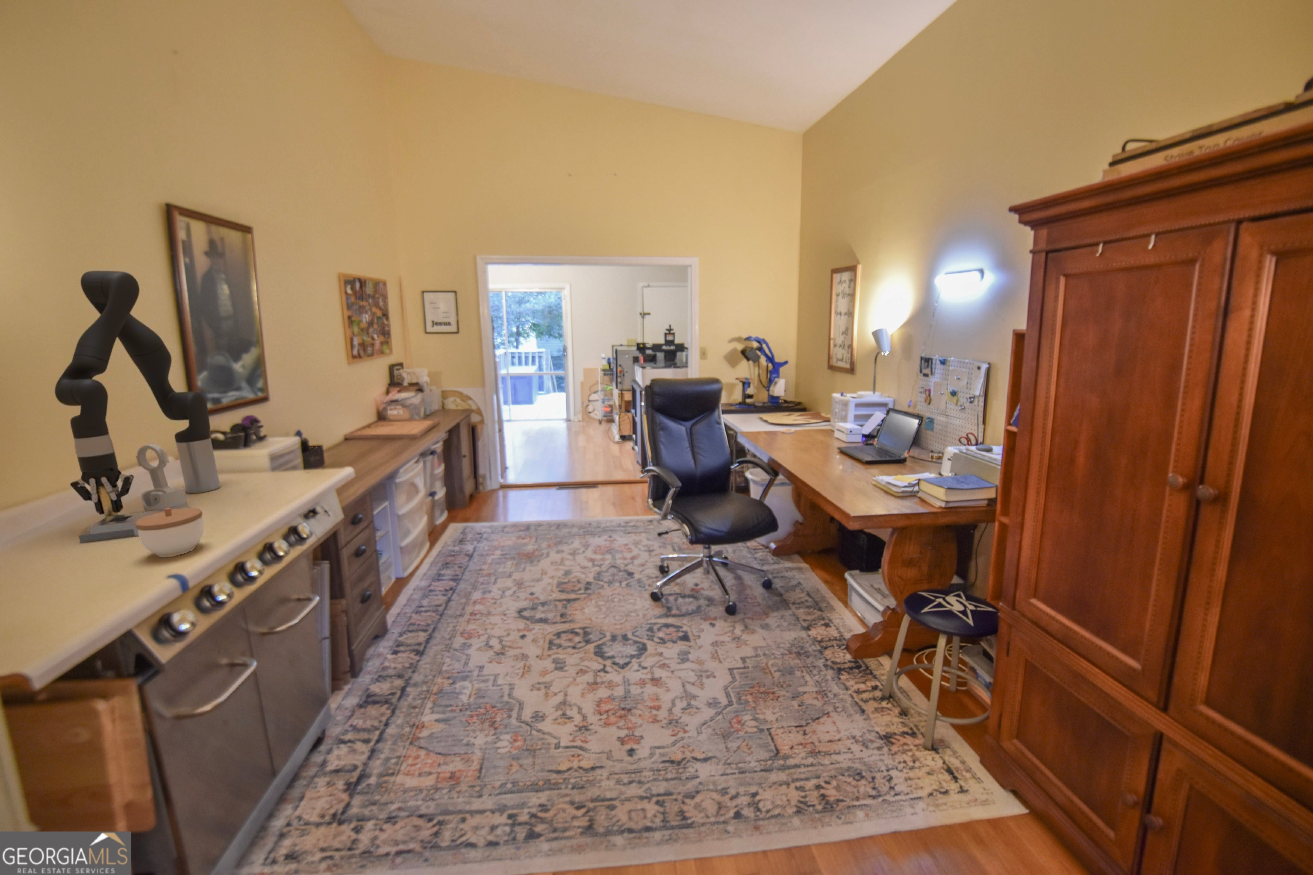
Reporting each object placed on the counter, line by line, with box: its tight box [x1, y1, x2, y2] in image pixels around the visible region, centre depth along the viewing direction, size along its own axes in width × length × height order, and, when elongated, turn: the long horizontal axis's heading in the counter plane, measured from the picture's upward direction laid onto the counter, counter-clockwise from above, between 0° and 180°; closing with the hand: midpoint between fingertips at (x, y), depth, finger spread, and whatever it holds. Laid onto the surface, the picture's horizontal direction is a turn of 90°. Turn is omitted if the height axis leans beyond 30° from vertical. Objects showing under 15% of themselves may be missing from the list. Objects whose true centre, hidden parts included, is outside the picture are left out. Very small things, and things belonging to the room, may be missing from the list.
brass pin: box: [98, 486, 119, 518], centre depth 164 cm, size 3×3×12 cm
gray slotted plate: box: [78, 507, 185, 544], centre depth 160 cm, size 9×20×4 cm, turn 109°
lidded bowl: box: [135, 507, 204, 558], centre depth 143 cm, size 13×13×11 cm
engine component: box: [135, 443, 189, 512], centre depth 176 cm, size 11×20×10 cm
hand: (110, 512), depth 164 cm, fingers closed on brass pin, 2 cm apart
